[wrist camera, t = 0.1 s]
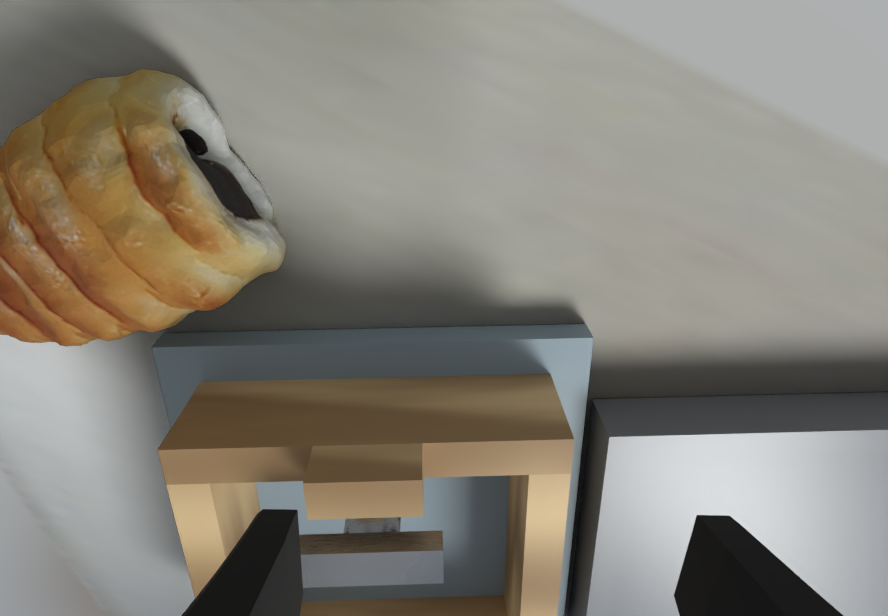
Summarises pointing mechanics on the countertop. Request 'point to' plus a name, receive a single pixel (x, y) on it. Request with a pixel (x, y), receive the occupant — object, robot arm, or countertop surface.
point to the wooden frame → (376, 469)
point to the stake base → (401, 355)
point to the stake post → (372, 555)
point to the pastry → (125, 213)
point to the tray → (734, 494)
